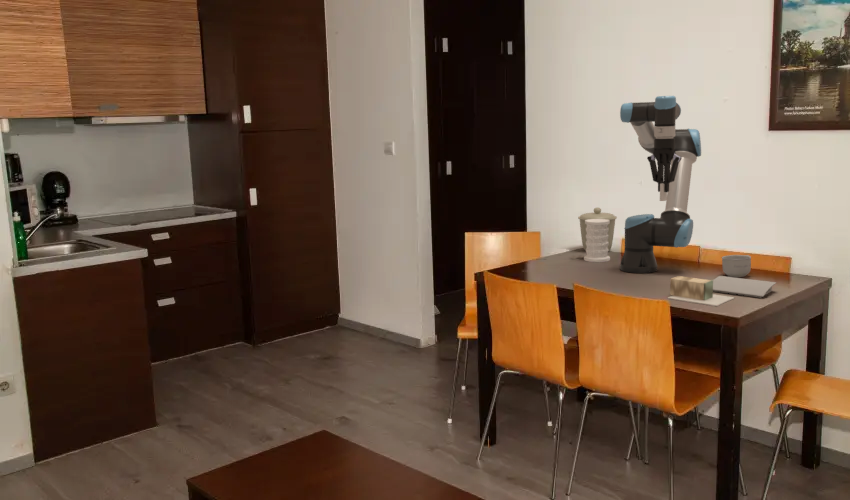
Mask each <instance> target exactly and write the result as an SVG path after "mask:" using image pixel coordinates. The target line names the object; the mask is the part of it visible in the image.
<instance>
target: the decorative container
mask: <svg viewBox="0 0 850 500" xmlns="http://www.w3.org/2000/svg"><path fill="white" fill-rule="evenodd" d="M585 224H586V225H587V227H586V232H587V234H586V239H587V241H586V246H587V248H586V250H585V252H586V255H584V256H583V260H584V261H586V262H590V263H591V262H592V263H603V262H605V263H606V262H609V261H611V257H610V255H608V254H609V251H610V250H608V244H609V243H608V237H609V236H608V231H609V228H608V224H610V220H607V219H588V220H585Z"/></svg>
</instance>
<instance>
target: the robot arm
mask: <svg viewBox="0 0 850 500" xmlns="http://www.w3.org/2000/svg"><path fill="white" fill-rule="evenodd" d="M654 100H655V101H651V102H650V101H646V102H644V101H643V102H641V101H640V102H626V103H625V102H624V103H622V104H621V106H620V111H619V116H620V117H619V118H620V121H621V122H622V123H630V125H631V126H632V128H633V130H634V131H635V133H636V135H637V137H638V138H637V139H638V143H639V145H640V146H641V147H642V148H643V150H645V151H646V152H648V153H650V154H651V155H649V156H647V160H648V162H649V167H650V171H651V176H652V181H653V182H655V183H657V191H658V193H659V201H660V202H665V209H664V211H662V212H661V214H660V216H659V217H656V218H655V215H654V214H653V213H646V214H645V213H644V214H636V215H632V216H628V217H627V218H626V219H625V220H624V228H623V229H624V252H623V255H622V257H621V260H620V264H619V269H620V271H622V272H624V273H625V272H626V273H633V274H646V273H647V274H648V273H654V272H657V271H658V264H657V260H656V257H655V253H654V247H663V248H664V247H668V248H685V247H687V246H689V244H690V243H691V239H692V237H693V230H694V220H693V219H691V215H690V214H689V213H688V206H689V205H688V204H689V195H690V188H691V187H690V186H691V180H692V179H691V178H692V169H693V164H695V163H696V162H697V159H698V158H699V157H701V156H702V143H701V135H700V131H699V130H698V129H697V128H693V129H692V128H683V129H682V128H680V129H676V120H677V119H678V118H679V117H680V116H681V114H682V109H681V106H680V104H679V103H677V97H676V96H675V95H662V96H659V95H658V96H656V97H655V98H654ZM653 122H654V123H653Z"/></svg>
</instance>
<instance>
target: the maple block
mask: <svg viewBox="0 0 850 500" xmlns="http://www.w3.org/2000/svg"><path fill="white" fill-rule="evenodd" d="M713 280H714V279H705V278H696V277H690V276H681V275H677V276H675V277H672V278H670V281H669V282H670V288H669V291H670V292H669V294H670V295H669V296H673V295H674V296H680V297H687V298H693V299H700V300H707V299H709V298H712V297H713V294H714V292H713Z"/></svg>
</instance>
